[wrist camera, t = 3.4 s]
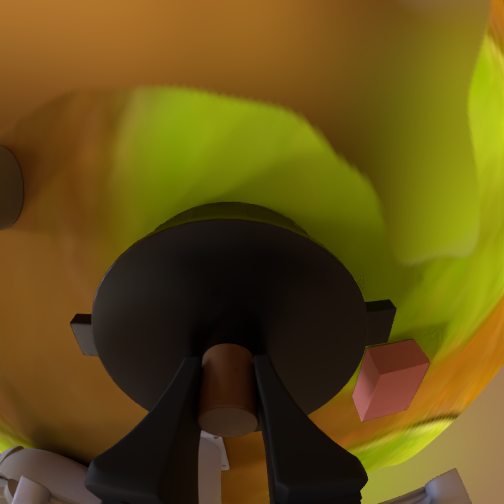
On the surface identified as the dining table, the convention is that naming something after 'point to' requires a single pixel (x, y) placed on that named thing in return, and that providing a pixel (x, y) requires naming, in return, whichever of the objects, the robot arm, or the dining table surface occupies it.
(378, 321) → the pan
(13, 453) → the decorative bowl
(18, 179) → the cork
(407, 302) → the dining table surface
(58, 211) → the dining table surface
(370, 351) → the reddish pink block
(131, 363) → the pan lid
